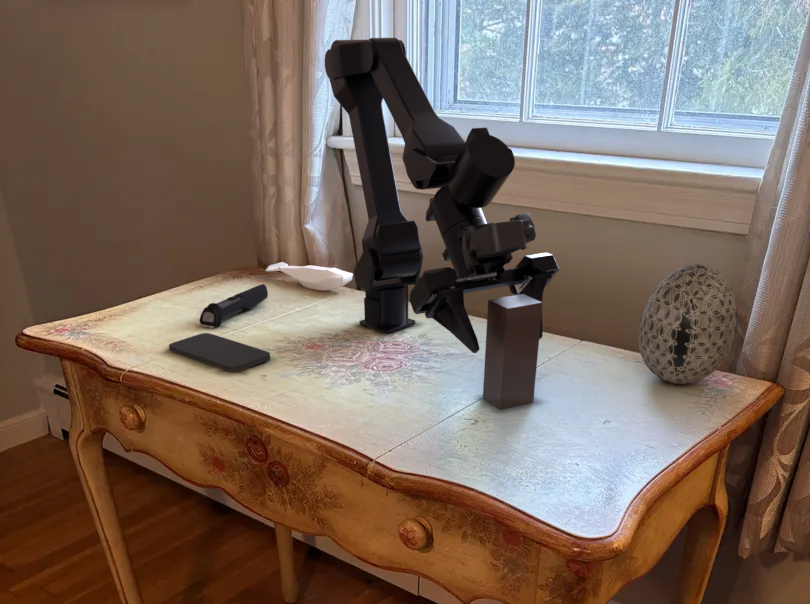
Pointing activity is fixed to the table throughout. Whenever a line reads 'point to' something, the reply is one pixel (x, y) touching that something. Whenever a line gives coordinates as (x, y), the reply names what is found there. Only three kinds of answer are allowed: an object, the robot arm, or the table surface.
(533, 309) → the walnut block
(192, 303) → the table surface
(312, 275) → the white fish figurine
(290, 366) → the table surface
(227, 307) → the electric trimmer
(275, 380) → the table surface
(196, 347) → the phone
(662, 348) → the decorative egg
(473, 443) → the table surface
